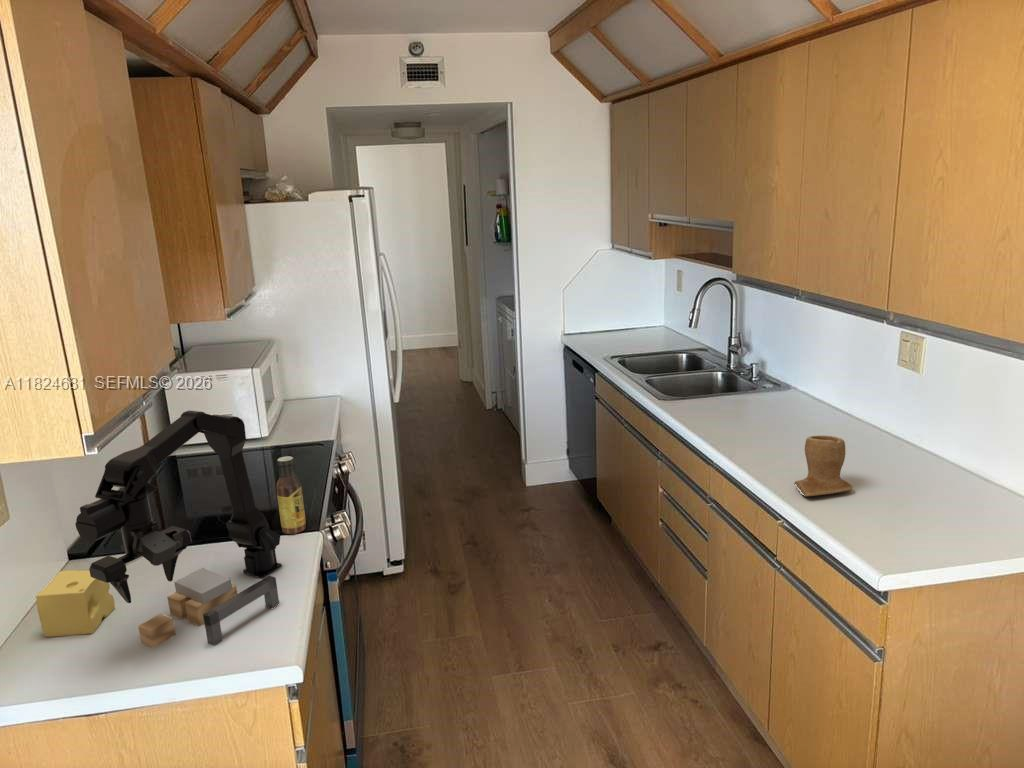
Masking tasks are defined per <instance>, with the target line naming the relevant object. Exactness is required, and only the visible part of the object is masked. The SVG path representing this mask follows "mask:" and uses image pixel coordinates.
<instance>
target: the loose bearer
mask: <svg viewBox="0 0 1024 768" xmlns="http://www.w3.org/2000/svg"><path fill="white" fill-rule="evenodd" d="M137 627H138V631H139V637H140V642H141V643H142V644H144V645H146V646H149V647H151V648H156V647H158V646H159V645H161V644H162V643H164V642H166V641H167V640H169V639H171V638H173V637H175V636H176V630H175V624H174V618H173V617H170V616H168V615H164V614H161V613H159V614H157V615H155V616H154V617H152V618H150V619H148V620H146V621H145V622H143V623H141V624H139V625H137Z"/></svg>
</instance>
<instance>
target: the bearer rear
mask: <svg viewBox="0 0 1024 768" xmlns="http://www.w3.org/2000/svg"><path fill="white" fill-rule="evenodd" d="M190 599H191V598H189V597H187V596H184V595H182V594H180V593H178V592H176V591H175V592H173V593H172V594H169V595H168V596H167V603H168V609H169V613H170V616H172V617H175V618H177V619H180V620H184V619H187V614H186V608H185V602H187V601H189V600H190Z"/></svg>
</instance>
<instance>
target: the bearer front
mask: <svg viewBox="0 0 1024 768" xmlns="http://www.w3.org/2000/svg"><path fill="white" fill-rule="evenodd" d="M237 594H238V588H237V584H233V583H232V590H230V591H228V592H226V593H224V594H222V595H220V596H218V597H216V598H214V599H213V600H211V601H209V602H207V603H205V604H202V603H200V602H198V601H196V600H193V599H190V600H189V601H187V602H185V608H186V614H187V617H186V619H187V622H188V621H189V623H190V624H193V625H197V626H199V627H201V626H203V625H205V623H204V618H203V614H204V613H206V612H208V611H209V610H211V609H213V608H214V607H216V606H218V605H220V604H221V603H223V602H225V601H226V600H228V599H230V598H231V597H233V596H235V595H237Z"/></svg>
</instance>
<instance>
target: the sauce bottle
mask: <svg viewBox="0 0 1024 768" xmlns="http://www.w3.org/2000/svg"><path fill="white" fill-rule="evenodd" d="M294 463H295V461H294V457H292V456H289V455H287V456H281V457H278V459H277V465H278V472H279V478H278V479H277V482H276V491H277V492H276V493H277V495H276V497H277V503H278V504H277V505H278V512H279V517H280V520H279V521H280V526H281V530H282V532H283V533H284V534H286V535H296V534H299V533H301V532H303V531H305V530H306V526H307V525H306V524H307V522H306V512H305V506H304V497H303V489H302V488H303V487H302V484H301V482H300V481H299V479H298V476H297V474H296V471H295V467H294V465H295V464H294Z"/></svg>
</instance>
